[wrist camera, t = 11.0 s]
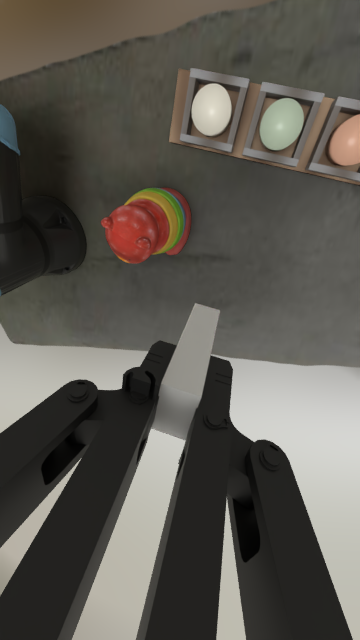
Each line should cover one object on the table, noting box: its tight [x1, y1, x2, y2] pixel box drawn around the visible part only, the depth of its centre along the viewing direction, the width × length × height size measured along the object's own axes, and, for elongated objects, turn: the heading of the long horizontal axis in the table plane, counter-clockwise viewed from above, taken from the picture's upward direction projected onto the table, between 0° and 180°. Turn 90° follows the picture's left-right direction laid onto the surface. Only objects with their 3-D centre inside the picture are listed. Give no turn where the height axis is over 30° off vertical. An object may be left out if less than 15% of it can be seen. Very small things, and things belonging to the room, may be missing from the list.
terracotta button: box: [326, 114, 360, 166], centre depth 31 cm, size 5×5×3 cm
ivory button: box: [192, 83, 232, 138], centre depth 32 cm, size 5×5×3 cm
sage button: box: [259, 98, 304, 151], centre depth 31 cm, size 5×5×3 cm
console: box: [169, 68, 360, 185], centre depth 33 cm, size 30×8×4 cm, turn 78°
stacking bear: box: [101, 188, 191, 263], centre depth 36 cm, size 11×10×18 cm
